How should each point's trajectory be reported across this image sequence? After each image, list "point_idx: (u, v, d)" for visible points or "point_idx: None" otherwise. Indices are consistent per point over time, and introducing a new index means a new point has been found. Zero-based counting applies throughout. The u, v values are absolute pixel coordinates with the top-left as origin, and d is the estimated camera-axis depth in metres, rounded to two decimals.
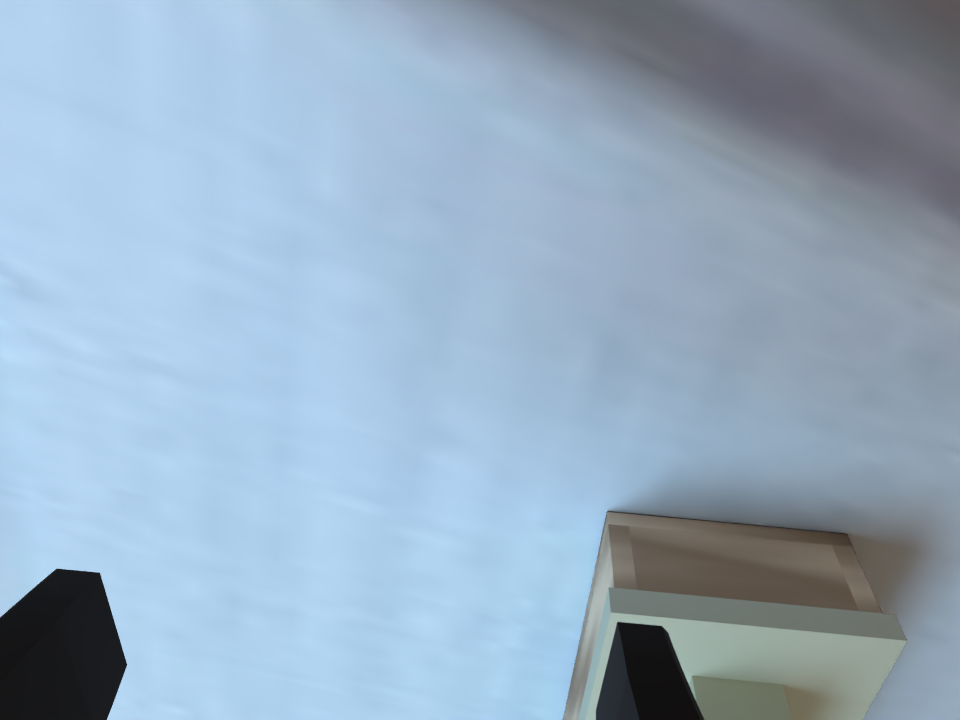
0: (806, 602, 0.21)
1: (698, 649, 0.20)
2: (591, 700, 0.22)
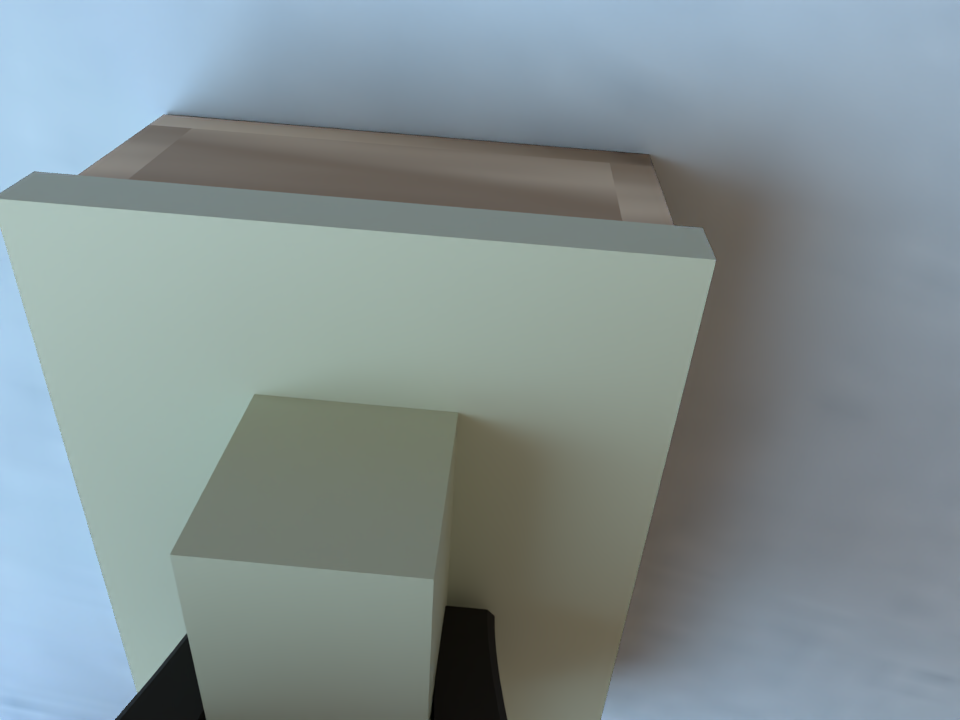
0: None
1: (239, 312, 0.09)
2: (76, 472, 0.10)
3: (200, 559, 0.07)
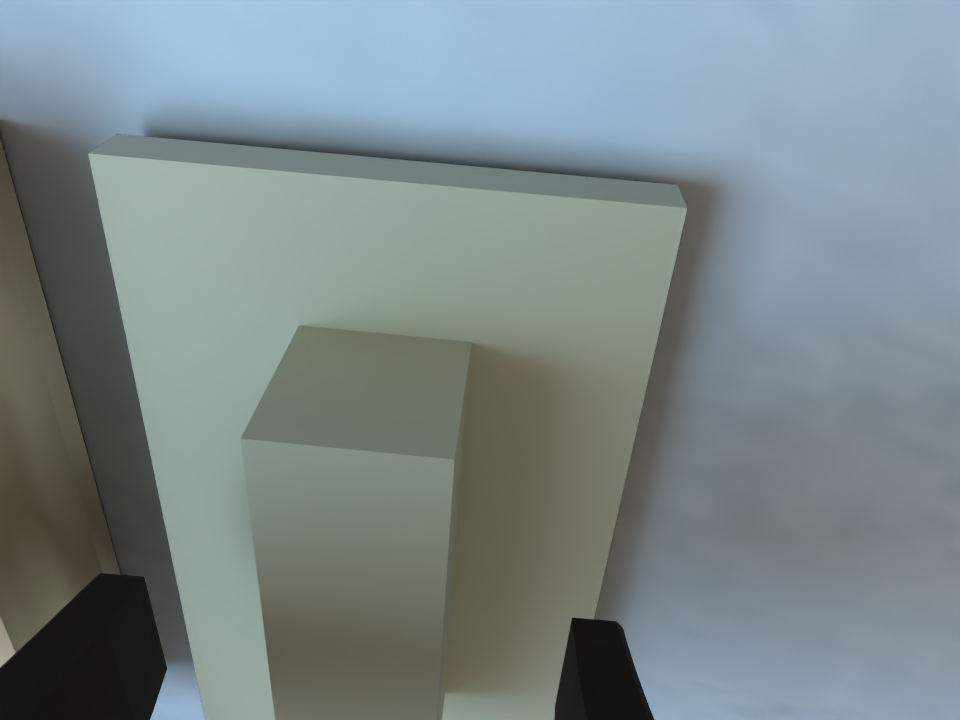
0: None
1: (289, 253, 0.10)
2: (141, 397, 0.12)
3: (264, 443, 0.09)
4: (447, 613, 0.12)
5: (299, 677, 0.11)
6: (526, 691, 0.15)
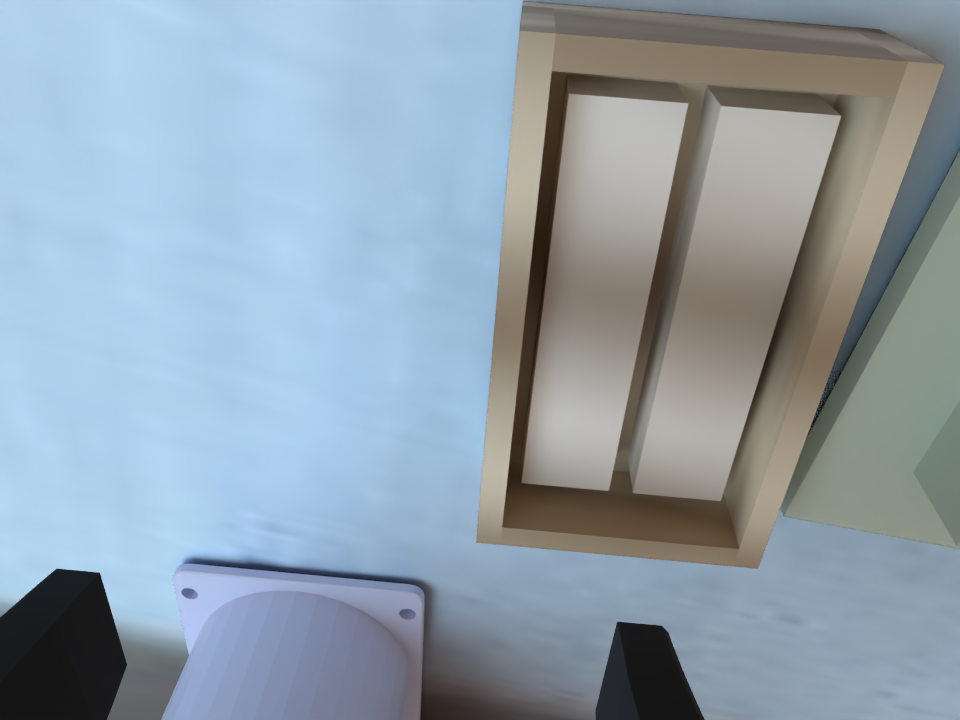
0: (821, 51, 0.13)
1: None
2: (950, 218, 0.16)
3: None
4: None
5: None
6: None
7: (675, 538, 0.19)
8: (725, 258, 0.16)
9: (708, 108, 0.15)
